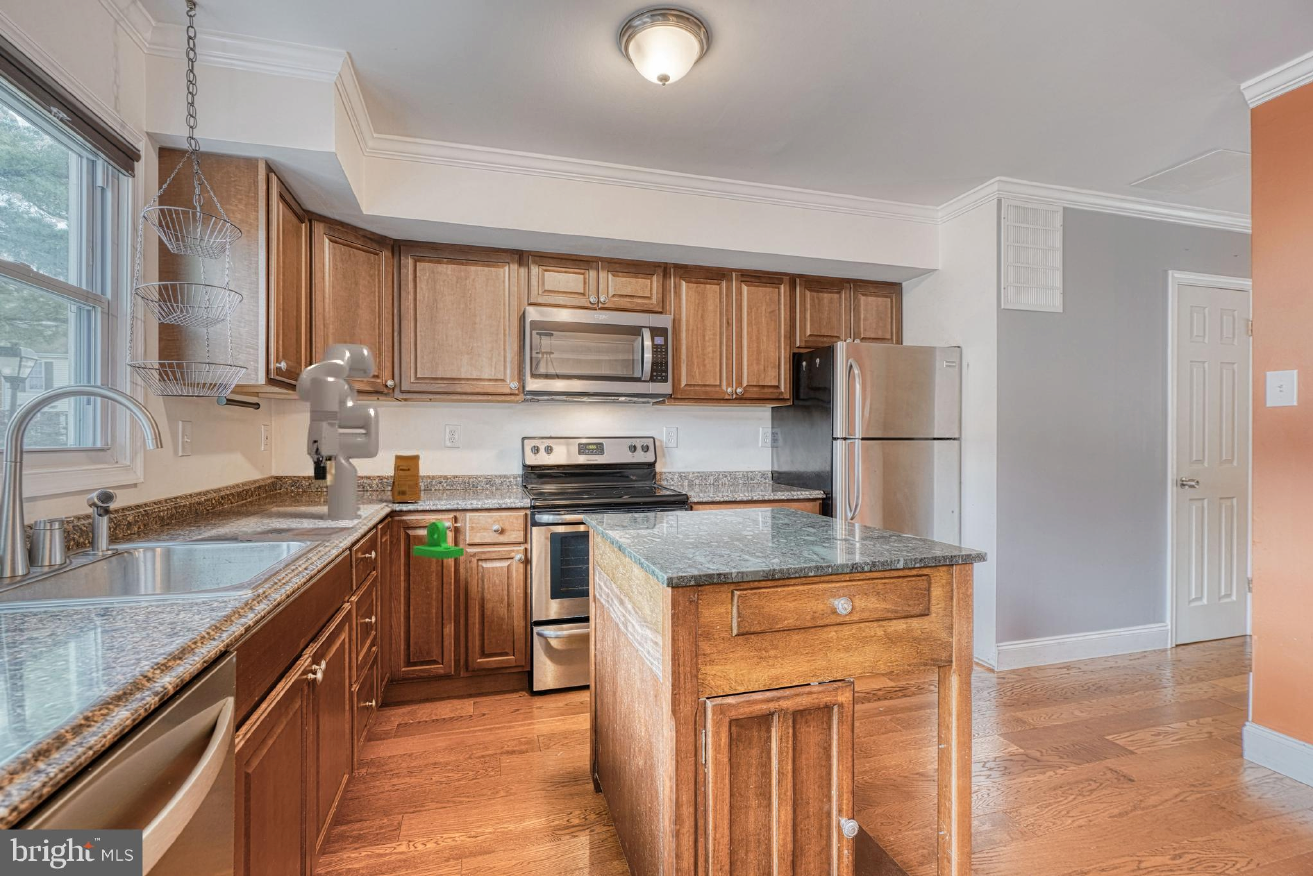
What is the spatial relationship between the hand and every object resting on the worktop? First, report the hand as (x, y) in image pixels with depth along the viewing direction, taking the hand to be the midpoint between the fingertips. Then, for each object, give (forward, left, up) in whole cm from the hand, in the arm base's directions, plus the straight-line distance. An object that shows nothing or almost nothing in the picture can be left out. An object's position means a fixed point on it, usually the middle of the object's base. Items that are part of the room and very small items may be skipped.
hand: (324, 478), depth 178 cm
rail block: (0, -7, -17) cm, 19 cm away
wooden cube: (0, 0, -2) cm, 2 cm away
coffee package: (-97, -13, -17) cm, 100 cm away
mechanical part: (+29, +43, -18) cm, 55 cm away
